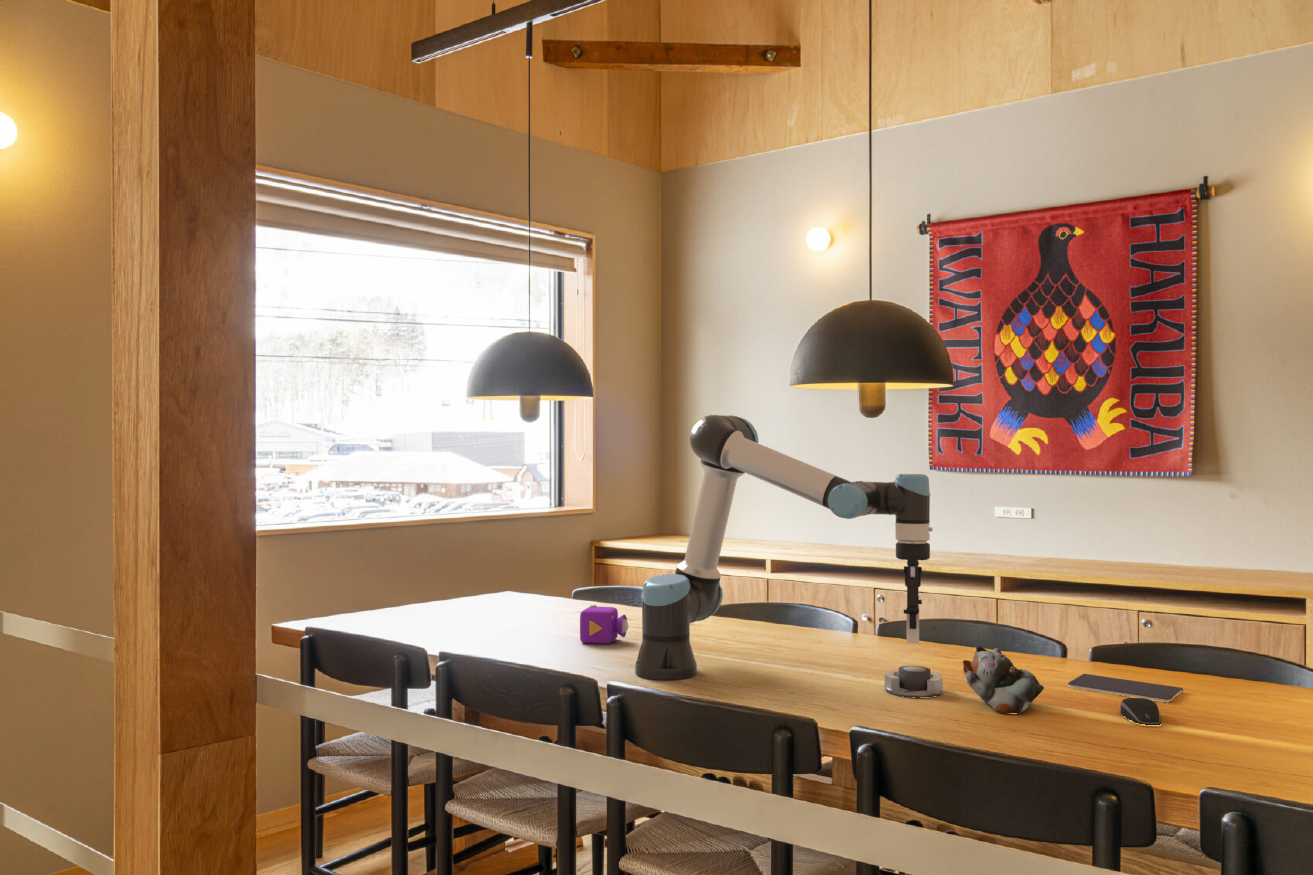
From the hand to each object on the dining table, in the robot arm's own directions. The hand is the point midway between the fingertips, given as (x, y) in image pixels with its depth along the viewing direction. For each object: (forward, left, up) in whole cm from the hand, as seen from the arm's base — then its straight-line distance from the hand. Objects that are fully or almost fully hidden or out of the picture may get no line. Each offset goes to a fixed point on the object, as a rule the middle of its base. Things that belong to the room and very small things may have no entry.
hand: (913, 637), depth 215 cm
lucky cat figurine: (0, -20, -12) cm, 24 cm away
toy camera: (-5, +92, -12) cm, 93 cm away
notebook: (+32, -36, -13) cm, 50 cm away
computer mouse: (+10, -45, -13) cm, 48 cm away
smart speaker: (0, 0, -11) cm, 11 cm away
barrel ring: (0, 0, -12) cm, 12 cm away
